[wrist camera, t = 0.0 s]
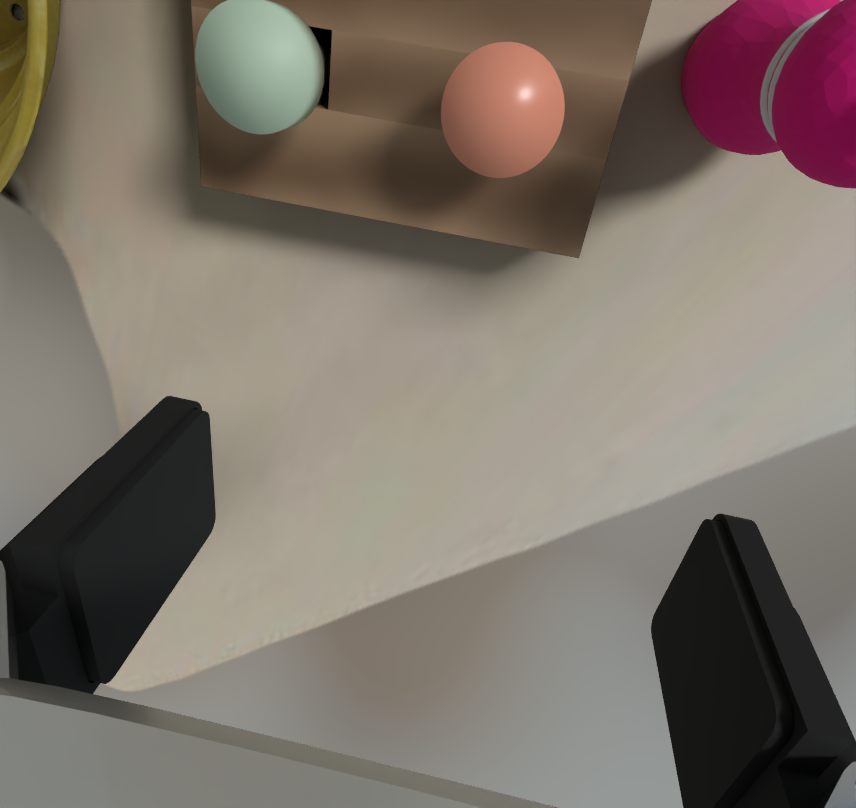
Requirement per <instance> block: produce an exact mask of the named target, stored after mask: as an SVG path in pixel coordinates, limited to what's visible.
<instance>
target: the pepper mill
mask: <svg viewBox="0 0 856 808" xmlns="http://www.w3.org/2000/svg"><path fill="white" fill-rule="evenodd" d="M681 87H682V96H683V100H684V103H685V106H686V108H687V109H688V111H689V113H690V115H691V118H692V120H693V122H694V124H695V126H696V127H697V129H698V130H699V132H700V133H701V134H702V135H703V136H704V137H705V138H706V139H707V140H708V141H710V142H711V143H713V144H714V145H716V146H717V147H720V148H722V149H725V150H727V151H731V152H736V153H741V154H748V155H761V154H766V153H772V152H777V151H780V150H782V152H783V153H784V155H785V156H786V158H787V159H788V161H789V162H790V163H791V164H792V165H793V166H794V167H795V168H796V169H798V170H799V171H801V172H802V173H804V174H805V175H806V176H808V177H809V178H812V179H814V180H817V181H819V182H822V183H825V184H829V185H832V186H836V187H844V188H856V0H843V1H842V2H840V0H738V1H736V2H735V3H733V4H732V5H731V6H730V7H728V8H727V9H726V10H725V11H724V12H723V13H721V14H720V15H719V16H717V17H716V18H714V19H713V20H712V21H711V22H710V23H709V24H708V25H707V26H706V27H705V28H704V29H703V30H702V31H701V33H700V34H699V35H698V36H697V38H696V39H695V41H694V42H693V44H692V46H691V47H690V49H689V51H688V54H687V56H686V59H685V63H684V66H683V70H682V76H681Z"/></svg>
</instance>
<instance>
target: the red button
mask: <svg viewBox="0 0 856 808" xmlns="http://www.w3.org/2000/svg"><path fill="white" fill-rule="evenodd" d="M564 111H565V102H564V94H563V89H562V85H561V82H560V80H559V77H558V75H557V73H556V71H555V69H554V68H553V66H552V65H551V63H550V62H549V61H548V60H547V59H546V58H545V57H544V56H543V55H542V54H541V53H540V52H538V51H537V50H535V49H534V48H532V47H530V46H527V45H525V44H521V43H517V42H497V43H493V44H489V45H486V46H483V47H481V48H479V49H477V50H475V51H474V52H472V53H471V54H470V55H468V56H467V57H466V58H465V59H464V60H463V61H462V62H461V63H460V64H459V65H458V66H457V67H456V69H455V70H454V72H453V73H452V75H451V76H450V78H449V80H448V83H447V85H446V87H445V91H444V94H443V98H442V104H441V122H442V129H443V132H444V136H445V139H446V141H447V143H448V145H449V147H450V149H451V151H452V152H453V154H454V155H455V156H456V158H457V159H458V160H459V161H460V162H461V163H462V164H463V165H465V166H466V167H467V168H469V169H470V170H472V171H474V172H476V173H478V174H480V175H483V176H487V177H493V178H507V177H513V176H516V175H520V174H522V173H524V172H526V171H528V170H530V169H532V168H533V167H535V166H536V165H537V164H538V163H540V162H541V161H542V160H543V159H544V158H545V157H546V156H547V155H548V153H549V152H550V151H551V149H552V148H553V146H554V144H555V143H556V141H557V139H558V136H559V134H560V131H561V128H562V125H563V120H564Z"/></svg>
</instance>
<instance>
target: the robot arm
mask: <svg viewBox="0 0 856 808" xmlns="http://www.w3.org/2000/svg"><path fill="white" fill-rule="evenodd" d="M215 516H216V514H215V498H214V481H213V465H212V449H211V433H210V418H209V414H208V412H206V411H202V407H201V405H200V403H198V402H196V401H191V400H186V399H182V398H177V397H172V396H167V397H165V398H164V399H163V400H161V401H160V402H159V403H158V404H157V405H156V406H155V407H154V408H153V409H152V410H151V411H150V412H149V413H148V414H147V415H146V416H144V417H143V418H142V419H141V420H140V421H139V422H138V423H137V424H136V425H135V426H134V427H133V428H132V429H131V430H130V431H129V432H128V433H126V434H125V435H124V436H123V437H122V438H121V439H120V440H119V441H118V442H117V443H116V444H115V445H114V446H113V447H112V448H111V449H110V450H108V451H107V452H106V453H105V454H104V455H103V456H102V457H100V458H99V459H97V460H96V461H95V462H94V463H93V464H92V465H91V466H90V467H89V468H88V469H87V470H86V471H84V472H83V473H82V474H81V475H80V476H79V477H78V478H77V479H76V480H75V481H74V482H73V483H72V484H71V485H70V486H68V487H67V488H66V489H65V490H64V491H63V492H62V493H61V494H60V495H59V496H58V497H57V498H56V499H55V500H54V501H53V502H52V503H50V504H49V505H48V506H47V507H46V508H45V509H44V510H43V511H42V512H41V513H40V514H39V515H38V516H37V517H36V518H34V519H33V520H32V522H30V523H29V524H28V525H27V526H26V527H25V528H24V529H23V530H22V531H21V532H20V533H18V534H17V535H16V536H15V537H14V538H13V539H12V540H11V541H10V542H9V543H8V544H7V545H6V546H5V547H4V548H2V549H1V550H0V808H557V807H553V806H549V805H545V804H541V803H537V802H533V801H529V800H526V799H522V798H518V797H514V796H510V795H506V794H502V793H498V792H494V791H490V790H486V789H482V788H478V787H474V786H470V785H466V784H462V783H458V782H454V781H450V780H446V779H442V778H438V777H434V776H430V775H426V774H422V773H418V772H414V771H410V770H406V769H402V768H397V767H393V766H390V765H386V764H382V763H377V762H373V761H370V760H365V759H361V758H357V757H353V756H349V755H345V754H341V753H337V752H333V751H329V750H325V749H321V748H317V747H313V746H309V745H305V744H301V743H296V742H293V741H288V740H284V739H280V738H276V737H272V736H267V735H264V734H259V733H255V732H251V731H247V730H243V729H239V728H235V727H230V726H226V725H222V724H218V723H214V722H210V721H206V720H201V719H197V718H193V717H189V716H185V715H181V714H176V713H173V712H168V711H164V710H160V709H156V708H152V707H148V706H143V705H138V704H134V703H129V702H125V701H121V700H116V699H112V698H107V697H102V696H98V695H94V694H93V693H94V691H95V690H96V688H97V687H98V685H99V684H100V683H103V684H106V683H108V682H110V681H111V680H112V679H113V677H114V676H115V675H116V673H117V672H118V670H119V669H120V667H121V666H122V665H123V663H124V662H125V660H126V659H127V657H128V656H129V654H130V653H131V651H132V650H133V648H134V647H135V645H136V644H137V642H138V641H139V639H140V638H141V636H142V635H143V633H144V632H145V630H146V629H147V627H148V626H149V624H150V623H151V621H152V620H153V618H154V617H155V616H156V614H157V613H158V611H159V610H160V608H161V607H162V605H163V604H164V602H165V601H166V599H167V598H168V596H169V595H170V593H171V592H172V590H173V589H174V587H175V586H176V584H177V583H178V581H179V580H180V578H181V577H182V575H183V574H184V572H185V571H186V569H187V568H188V566H189V565H190V564H191V562H192V561H193V559H194V558H195V556H196V555H197V553H198V552H199V550H200V549H201V547H202V546H203V544H204V543H205V541H206V540H207V538H208V537H209V535H210V534H211V532H212V529H213V527H214V523H215ZM651 633H652V639H653V645H654V650H655V656H656V661H657V667H658V672H659V678H660V683H661V689H662V694H663V699H664V704H665V710H666V715H667V721H668V726H669V732H670V737H671V743H672V748H673V753H674V759H675V764H676V770H677V775H678V780H679V786H680V791H681V797H682V802H683V807H684V808H856V741H855V739H854V737H853V734H852V732H851V730H850V728H849V726H848V723H847V721H846V719H845V716H844V714H843V712H842V710H841V708H840V706H839V703H838V701H837V699H836V696H835V694H834V693H833V690H832V687H831V685H830V683H829V681H828V679H827V676H826V674H825V672H824V670H823V667H822V665H821V663H820V661H819V659H818V657H817V654H816V652H815V650H814V647H813V645H812V643H811V641H810V638H809V636H808V634H807V632H806V630H805V627H804V625H803V623H802V621H801V618H800V616H799V615H798V613H797V612H796V610H795V608H793V606H792V604H791V601H790V599H789V597H788V595H787V592H786V590H785V588H784V585H783V583H782V581H781V579H780V576H779V574H778V572H777V570H776V567H775V565H774V563H773V561H772V558H771V556H770V554H769V552H768V549H767V547H766V545H765V543H764V541H763V538H762V536H761V534H760V532H759V529H758V527H757V525H756V524H755V522H753V521H752V520H748V519H743V518H739V517H734V516H729V515H724V514H717V515H716V516H715V517H714V518H713V520H710V519H705V520H704V521H703V522H702V524H701V526H700V527H699V529H698V531H697V533H696V535H695V537H694V539H693V541H692V543H691V545H690V546H689V549H688V550H687V552H686V554H685V556H684V558H683V560H682V562H681V564H680V566H679V568H678V570H677V571H676V573H675V575H674V577H673V579H672V581H671V583H670V585H669V587H668V589H667V591H666V593H665V595H664V597H663V598H662V600H661V602H660V604H659V606H658V608H657V610H656V612H655V614H654V616H653V620H652V626H651Z"/></svg>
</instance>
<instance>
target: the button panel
mask: <svg viewBox="0 0 856 808" xmlns="http://www.w3.org/2000/svg"><path fill="white" fill-rule="evenodd" d="M225 1H227V0H191V11H192V29H193V47H194V65H195V82H196V100H197V118H198V135H199V153H200V171H201V186H202V187H207V188H212V189H218V190H223V191H228V192H233V193H239V194H244V195H249V196H254V197H260V198H265V199H270V200H275V201H281V202H286V203H291V204H297V205H302V206H307V207H312V208H318V209H323V210H328V211H333V212H339V213H344V214H349V215H354V216H360V217H365V218H370V219H375V220H381V221H386V222H391V223H396V224H402V225H407V226H412V227H417V228H423V229H428V230H433V231H438V232H444V233H449V234H454V235H459V236H465V237H470V238H475V239H481V240H486V241H491V242H496V243H502V244H507V245H512V246H517V247H523V248H528V249H533V250H538V251H544V252H549V253H554V254H559V255H565V256H570V257H575V258H579V256H580V252H581V249H582V245H583V242H584V238H585V235H586V231H587V228H588V224H589V221H590V217H591V214H592V210H593V206H594V203H595V199H596V196H597V192H598V189H599V185H600V182H601V178H602V175H603V171H604V168H605V164H606V161H607V157H608V154H609V150H610V146H611V143H612V139H613V136H614V132H615V129H616V125H617V122H618V118H619V115H620V111H621V108H622V104H623V101H624V97H625V94H626V90H627V86H628V83H629V79H630V76H631V72H632V69H633V65H634V62H635V58H636V55H637V51H638V48H639V44H640V41H641V37H642V34H643V30H644V26H645V23H646V19H647V16H648V12H649V9H650V5H651V2H652V0H268V1H273V2H277V3H279V4H282V5H284V6H286V7H288V8H289V9H291V10H293V11H294V12H295V13H296V14H298V15H299V16H300V17H301V18H302V19H303V20H304V21H305V23H306V24H307V25H308V26H311V27H317V28H323V29H329V30H332V41H331V62H330V82H329V95H324V94H321V97H320V99H319V102H318V104H317V106H316V107H315V109H314V110H313V112H312V113H311V114H310V115H309V116H308V117H307V118H306V119H305V120H304V121H302V122H301V123H299V124H297V125H295V126H293V127H290V128H287V129H284V130H281V131H278V132H275V133H271V134H261V135H260V134H252V133H248V132H245V131H242V130H240V129H238V128H236V127H234V126H233V125H231V124H230V123H228V122H227V121H226V120H224V119H223V118H222V117H221V116H220V115H219V114H218V113H217V112H216V110H215V109H214V108H213V107H212V105H211V104H210V102H209V101H208V99H207V97H206V96H205V94H204V91H203V89H202V87H201V84H200V81H199V78H198V74H197V70H196V62H195V48H196V41H197V36H198V33H199V30H200V28H201V25H202V23H203V22H204V20H205V18H206V17H207V16H208V14H209V13H210V12H211V11H212V10H213V9H214V8H215V7H216V6H218V5H219V4H221V3H223V2H225ZM497 42H517V43H521V44H525V45H527V46H530V47H532V48H534V49H535V50H537V51H538V52H540V53H541V54H542V55H543V56H544V57H545V58H546V59H547V60H548V61H549V62H550V63H551V65H552V66H553V68H554V69H555V71H556V73H557V75H558V77H559V80H560V82H561V85H562V89H563V94H564V102H565V111H564V120H563V125H562V128H561V131H560V134H559V136H558V139H557V141H556V143H555V144H554V146H553V148H552V149H551V151H550V152H549V153H548V155H547V156H546V157H545V158H544V159H543V160H542V161H541V162H540V163H538V164H537V165H536V166H535V167H533V168H532V169H530V170H528V171H526V172H524V173H522V174H520V175H516V176H513V177H507V178H493V177H487V176H483V175H480V174H478V173H476V172H474V171H472V170H470V169H469V168H467V167H466V166H465V165H463V164H462V163H461V162H460V161H459V160H458V159H457V158H456V156H455V155H454V154H453V152H452V151H451V149H450V147H449V145H448V143H447V141H446V139H445V136H444V132H443V129H442V122H441V104H442V98H443V94H444V91H445V87H446V85H447V83H448V80H449V78H450V76H451V75H452V73H453V72H454V70H455V69H456V67H457V66H458V65H459V64H460V63H461V62H462V61H463V60H464V59H465V58H466V57H467V56H468V55H470V54H471V53H472V52H474V51H475V50H477V49H479V48H481V47H483V46H486V45H489V44H493V43H497Z"/></svg>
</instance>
